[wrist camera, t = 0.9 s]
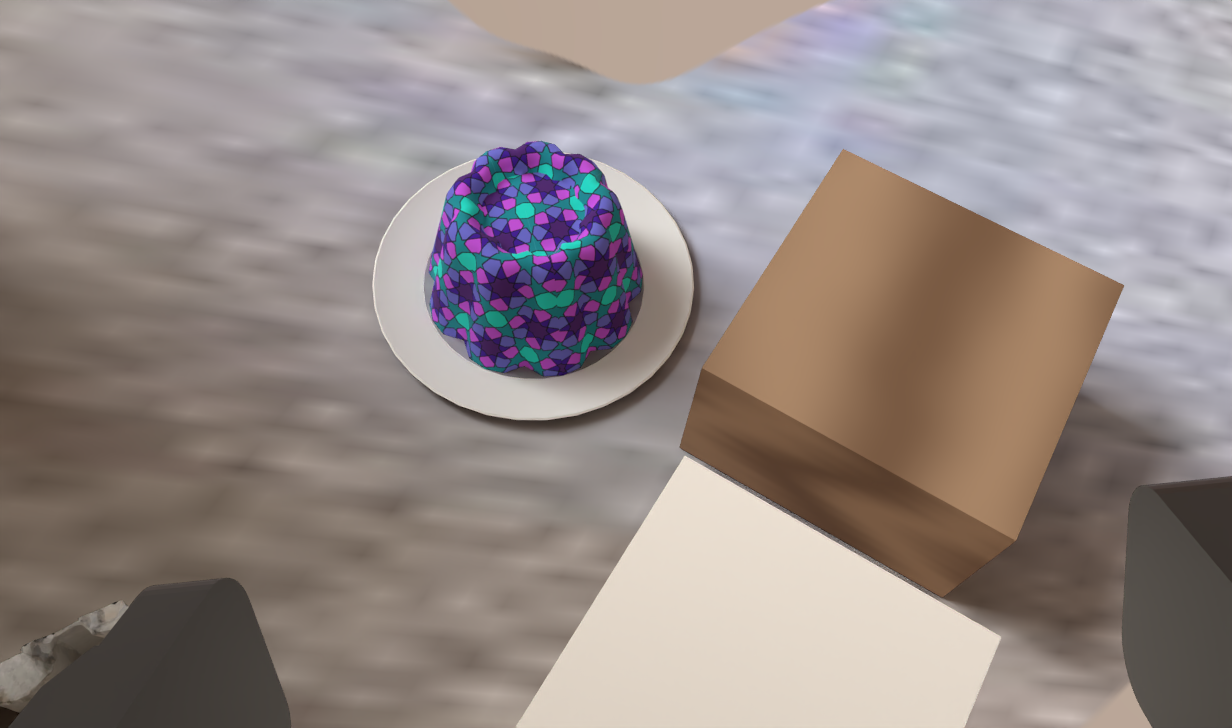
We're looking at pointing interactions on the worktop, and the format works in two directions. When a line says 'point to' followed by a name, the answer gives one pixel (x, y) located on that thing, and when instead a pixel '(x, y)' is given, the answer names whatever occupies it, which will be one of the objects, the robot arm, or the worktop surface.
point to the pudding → (533, 282)
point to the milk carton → (757, 630)
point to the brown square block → (901, 374)
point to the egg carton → (53, 655)
